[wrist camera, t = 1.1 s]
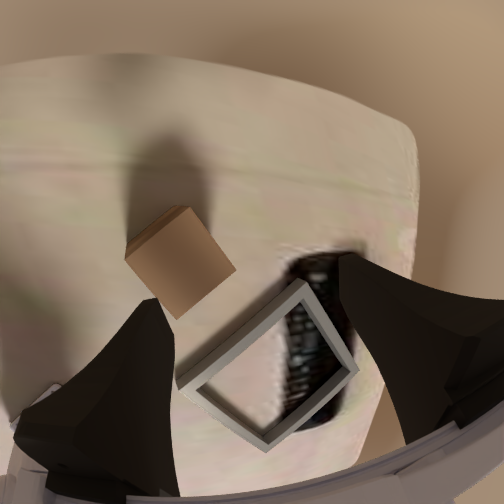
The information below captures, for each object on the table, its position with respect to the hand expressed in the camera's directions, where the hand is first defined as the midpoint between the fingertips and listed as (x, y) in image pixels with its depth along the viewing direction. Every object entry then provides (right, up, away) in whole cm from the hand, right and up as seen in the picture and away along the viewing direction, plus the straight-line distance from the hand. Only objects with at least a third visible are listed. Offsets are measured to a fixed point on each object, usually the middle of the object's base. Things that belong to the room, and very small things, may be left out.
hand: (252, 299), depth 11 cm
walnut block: (-6, +2, +10) cm, 12 cm away
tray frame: (+2, -10, +16) cm, 19 cm away
